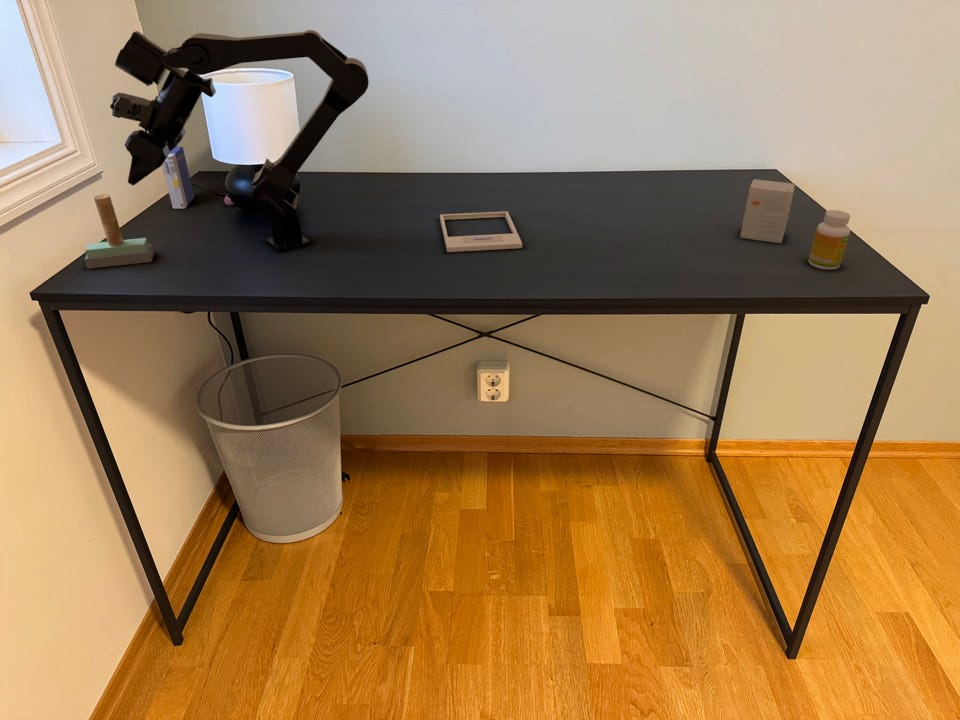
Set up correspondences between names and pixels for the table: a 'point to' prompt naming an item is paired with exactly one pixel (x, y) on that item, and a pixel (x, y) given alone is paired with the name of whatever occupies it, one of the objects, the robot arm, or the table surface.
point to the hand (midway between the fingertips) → (137, 176)
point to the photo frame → (480, 240)
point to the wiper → (115, 241)
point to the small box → (767, 210)
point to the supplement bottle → (830, 241)
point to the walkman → (178, 178)
